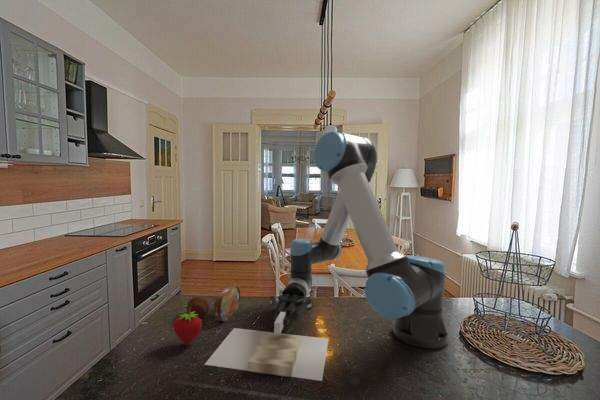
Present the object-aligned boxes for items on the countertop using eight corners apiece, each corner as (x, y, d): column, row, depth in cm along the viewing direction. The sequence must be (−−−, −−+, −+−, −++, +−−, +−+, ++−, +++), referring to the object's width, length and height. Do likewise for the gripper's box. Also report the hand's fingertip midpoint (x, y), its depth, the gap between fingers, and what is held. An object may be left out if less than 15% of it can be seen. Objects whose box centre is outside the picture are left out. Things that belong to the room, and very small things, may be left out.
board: (300, 337, 79) (290, 367, 67) (300, 346, 80) (290, 377, 67) (264, 333, 81) (247, 361, 68) (264, 342, 81) (247, 371, 69)
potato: (183, 323, 92) (183, 303, 92) (189, 310, 101) (188, 291, 101) (206, 322, 93) (206, 302, 93) (210, 309, 102) (210, 291, 102)
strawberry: (179, 337, 84) (179, 302, 83) (205, 339, 83) (205, 304, 82) (168, 349, 78) (168, 312, 77) (196, 351, 77) (196, 314, 77)
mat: (328, 340, 84) (328, 338, 84) (321, 383, 66) (322, 380, 66) (234, 329, 89) (234, 328, 89) (204, 366, 71) (204, 364, 71)
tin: (221, 326, 91) (221, 299, 90) (211, 325, 92) (212, 298, 91) (241, 306, 106) (241, 282, 105) (232, 305, 106) (232, 281, 106)
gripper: (315, 306, 96) (302, 346, 73) (275, 302, 99) (251, 340, 75) (315, 283, 96) (303, 316, 73) (276, 280, 98) (252, 311, 75)
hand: (277, 328), depth 74 cm, fingers closed
